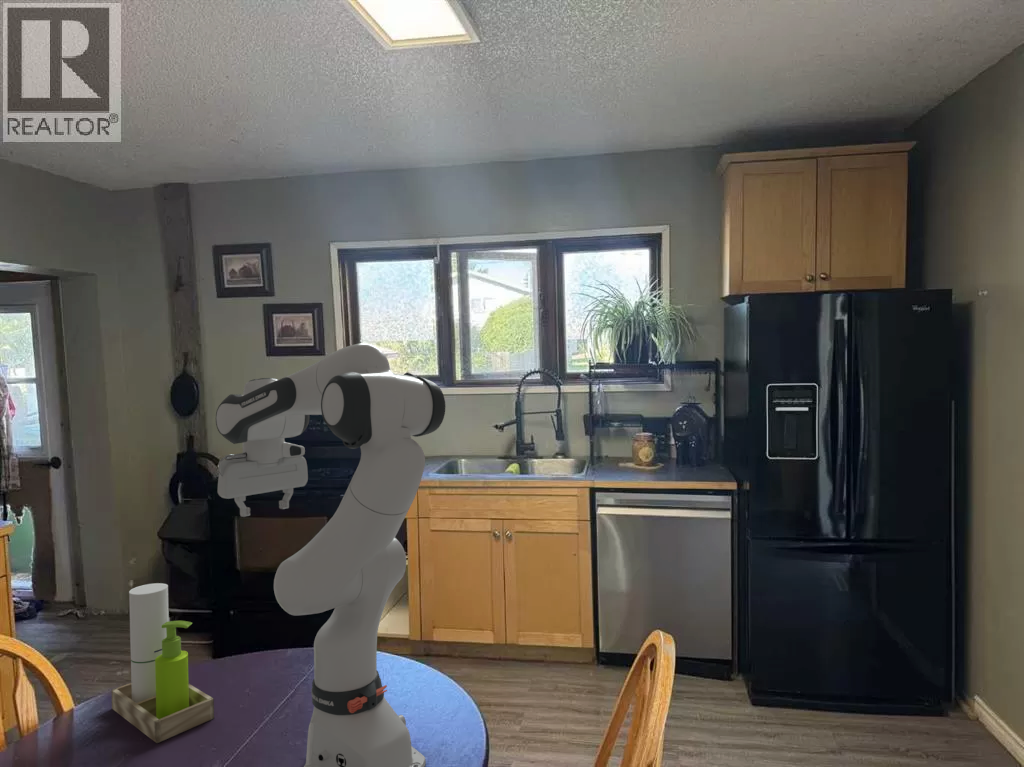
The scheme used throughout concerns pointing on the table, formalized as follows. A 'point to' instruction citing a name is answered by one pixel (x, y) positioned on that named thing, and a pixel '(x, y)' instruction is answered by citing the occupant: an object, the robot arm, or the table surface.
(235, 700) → the table surface
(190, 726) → the frame
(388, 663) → the table surface
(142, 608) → the cylindrical container
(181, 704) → the soap dispenser
